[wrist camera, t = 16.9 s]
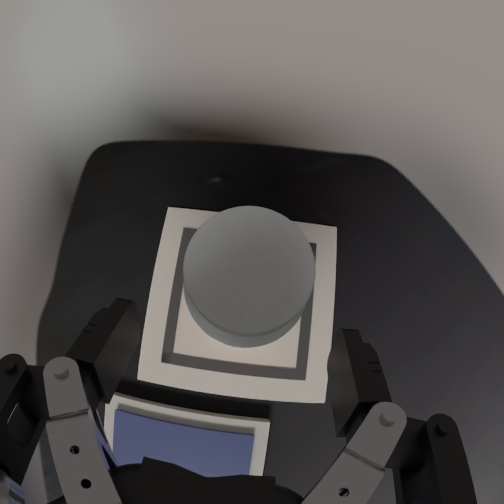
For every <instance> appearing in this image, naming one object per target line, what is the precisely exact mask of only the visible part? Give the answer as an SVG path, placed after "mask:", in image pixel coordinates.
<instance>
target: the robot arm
mask: <svg viewBox="0 0 504 504" xmlns="http://www.w3.org/2000/svg"><path fill="white" fill-rule="evenodd" d="M139 337H140V328H139V321H138V314H137V307H136V303H135V301H131V300H126V299H121V298H116V299H115V300H114V302H113V303H112V304H111V306H110V307H109V309H107V308H103V309H101V310H100V311H98V312H97V313H95V314H94V315H93V317H92V318H91V319H90V321H89V322H88V325H86V326H85V328H84V329H83V332H81V334H80V335H79V336H78V338H77V339H76V341H75V342H74V344H73V345H72V347H71V348H70V350H69V351H68V353H67V354H66V356H65V357H58V358H55V359H52V360H51V361H49V362H48V363H47V364H46V366H33V365H27V364H26V362H25V360H24V358H23V357H22V356H20V355H18V354H9V355H6V356H4V357H3V358H1V359H0V504H26V500H25V494H24V491H23V489H22V487H21V484H22V481H23V479H24V476H25V473H26V471H27V468H28V466H29V463H30V460H31V458H32V455H33V453H34V451H35V448H36V446H37V443H38V441H39V439H40V436H41V434H42V432H43V430H44V427H45V425H46V428H47V433H48V438H49V443H50V447H51V451H52V455H53V459H54V463H55V467H56V470H57V474H58V477H59V481H60V484H61V487H62V490H63V493H64V495H63V496H61V497H59V498H57V499H55V500H53V501H51V502H49V503H47V504H366V503H367V502H368V500H369V498H370V497H371V495H372V494H373V492H374V491H375V489H376V487H377V486H378V484H379V482H380V481H381V479H382V477H383V475H384V473H385V470H384V467H385V468H390V469H392V470H393V478H394V486H395V495H396V504H477V500H476V495H475V491H474V486H473V482H472V477H471V473H470V469H469V465H468V462H467V458H466V454H465V451H464V447H463V444H462V440H461V437H460V434H459V430H458V427H457V425H456V423H455V421H454V420H453V419H452V418H451V417H449V416H447V415H445V414H435V415H433V416H431V417H430V418H429V419H428V421H423V420H418V419H413V418H409V417H406V415H405V413H404V411H403V410H402V409H401V408H400V407H399V406H398V405H396V404H394V403H392V400H391V396H390V393H389V390H388V386H387V383H386V380H385V377H384V374H383V373H382V371H383V370H382V367H381V364H380V361H379V358H378V355H377V352H376V351H375V350H374V349H373V347H372V346H371V345H370V344H369V343H363V342H362V339H361V335H360V332H359V331H358V330H354V329H339V330H338V332H337V334H336V337H335V340H334V343H333V345H332V348H331V351H330V353H329V356H328V360H327V373H328V380H329V387H330V394H331V401H332V408H333V416H334V424H335V432H336V437H346V443H347V444H346V445H345V446H344V448H343V449H342V450H341V452H340V453H339V454H338V456H337V457H336V458H335V460H334V461H333V462H332V464H331V465H330V466H329V468H328V469H327V470H326V471H325V473H324V474H323V475H322V476H321V478H320V479H319V480H318V481H317V482H316V484H315V485H314V486H313V487H312V488H311V489H310V490H309V492H308V493H307V494H306V495H305V496H304V497H301V496H300V495H299V494H297V493H296V492H294V491H292V490H290V489H288V488H286V487H283V486H281V485H277V484H275V477H270V476H256V475H244V474H241V475H232V476H220V477H205V476H202V475H200V474H197V473H195V472H192V471H190V470H188V469H185V468H183V467H181V466H179V465H176V464H174V463H169V462H165V461H160V460H156V459H152V458H148V457H145V456H144V457H143V460H142V463H133V464H126V465H121V466H119V464H118V462H117V460H116V458H115V456H114V454H113V452H112V450H111V447H110V445H109V442H108V439H107V437H106V434H105V431H104V428H103V426H102V423H101V420H100V417H99V414H98V411H97V406H98V404H99V402H103V403H106V404H110V402H111V399H112V397H113V395H114V393H115V391H116V389H117V386H118V384H119V382H120V380H121V378H122V376H123V374H124V371H125V369H126V367H127V365H128V363H129V361H130V359H131V357H132V355H133V353H134V351H135V349H136V347H137V345H138V342H139ZM15 405H17V406H16V408H15V410H14V412H13V414H12V416H11V418H10V420H9V422H8V423H7V421H8V419H9V417H10V415H11V413H12V411H13V409H14V407H15Z"/></svg>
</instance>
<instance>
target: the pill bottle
mask: <svg viewBox="0 0 504 504" xmlns="http://www.w3.org/2000/svg"><path fill="white" fill-rule="evenodd" d="M315 274H316V268H315V259H314V255H313V251H312V248H311V246H310V244H309V242H308V240H307V239H306V237H305V235H304V234H303V232H302V231H301V230H300V229H299V228H298V227H297V225H295V224H294V223H293V222H292V221H291V220H289V219H288V218H287V217H285V216H283V215H282V214H280V213H277V212H275V211H273V210H270V209H267V208H263V207H258V206H240V207H234V208H230V209H227V210H224V211H221V212H220V213H217V214H216V215H214V216H212V217H211V218H209V219H208V220H207V221H205V222H204V223H203V224H202V225H201V226H200V227H199V228H198V230H197V231H196V232H195V234H194V235H193V237H192V238H191V240H190V242H189V244H188V247H187V250H186V253H185V257H184V263H183V276H184V296H185V301H186V304H187V307H188V309H189V312H190V314H191V315H192V317H193V319H194V320H195V322H196V323H197V324H198V325H199V327H200V328H201V329H202V330H203V331H204V332H205V333H206V334H208V335H209V336H210V337H212V338H214V339H215V340H217V341H219V342H222V343H224V344H226V345H229V346H233V347H239V348H252V347H258V346H263V345H267V344H269V343H271V342H274V341H276V340H278V339H280V338H281V337H282V336H284V335H285V334H286V333H287V332H289V331H290V330H291V329H292V328H293V326H294V325H295V324H296V323H297V322H298V320H299V319H300V317H301V315H302V313H303V311H304V309H305V306H306V303H307V302H308V300H309V298H310V296H311V293H312V290H313V287H314V283H315Z"/></svg>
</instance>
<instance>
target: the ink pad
mask: <svg viewBox="0 0 504 504" xmlns="http://www.w3.org/2000/svg"><path fill="white" fill-rule="evenodd" d="M269 427H270V421H269V419H265V418H253V417H244V416H235V415H227V414H219V413H212V412H206V411H200V410H194V409H188V408H183V407H177V406H172V405H167V404H163V403H158V402H153V401H149V400H145V399H141V398H137V397H133V396H129V395H125V394H121V393H118V392H115V393H114V395H113V397H112V399H111V402H110V404H106V406H105V421H104V431H105V434H106V437H107V439H108V442H109V445H110V447H111V450H112V452H113V454H114V456H115V458H116V460H117V462H118V464H119V466H121V465H126V464H133V463H142V460H143V457H144V456H145V457H148V458H152V459H156V460H160V461H165V462H169V463H174V464H176V465H179V466H181V467H183V468H185V469H188V470H190V471H192V472H195V473H197V474H200V475H202V476H205V477H220V476H232V475H241V474H244V475H256V476H262V475H263V469H264V462H265V455H266V448H267V441H268V434H269Z"/></svg>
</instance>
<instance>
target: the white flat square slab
mask: <svg viewBox="0 0 504 504" xmlns="http://www.w3.org/2000/svg"><path fill="white" fill-rule="evenodd" d="M217 213H220V212H213V211H203V210H194V209H184V208H174V207H168V210H167V215H166V219H165V223H164V227H163V232H162V236H161V240H160V245H159V250H158V254H157V259H156V264H155V269H154V274H153V279H152V285H151V290H150V295H149V301H148V307H147V313H146V319H145V325H144V332H143V339H142V346H141V353H140V360H139V368H138V377H137V379H138V380H143V381H147V382H152V383H156V384H161V385H166V386H171V387H176V388H181V389H187V390H193V391H199V392H205V393H211V394H218V395H226V396H233V397H242V398H251V399H261V400H273V401H287V402H306V403H325V396H326V388H327V380H328V373H327V360H328V356H329V353H330V351H331V340H332V327H333V314H334V297H335V277H336V248H337V227H332V226H325V225H318V224H311V223H303V222H296V221H292V222H293V223H294V224H295V225H297V227H298V228H299V229H300V230H301V231H302V232H303V234H304V235H305V237H306V239H307V240H308V242H309V244H310V246H311V248H312V251H313V255H314V259H315V268H316V274H315V283H314V287H313V290H312V293H311V296H310V298H309V300H308V302H307V303H306V306H305V309H304V311H303V313H302V315H301V317H300V319H299V320H298V322H297V323H296V324H295V325H294V326H293V328H292V329H291V330H290V331H289V332H287V333H286V334H285V335H284V336H282V337H281V338H280V339H278V340H276V341H274V342H271V343H269V344H267V345H263V346H258V347H252V348H239V347H233V346H229V345H226V344H224V343H222V342H219V341H217V340H215V339H214V338H212V337H210V336H209V335H208V334H206V333H205V332H204V331H203V330H202V329H201V328H200V327H199V325H198V324H197V323H196V322H195V320H194V319H193V317H192V315H191V314H190V312H189V309H188V307H187V304H186V301H185V296H184V276H183V263H184V257H185V253H186V250H187V247H188V244H189V242H190V240H191V238H192V237H193V235H194V234H195V232H196V231H197V230H198V228H199V227H200V226H201V225H202V224H203V223H204V222H205V221H207V220H208V219H209V218H211V217H212V216H214V215H216V214H217Z"/></svg>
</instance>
